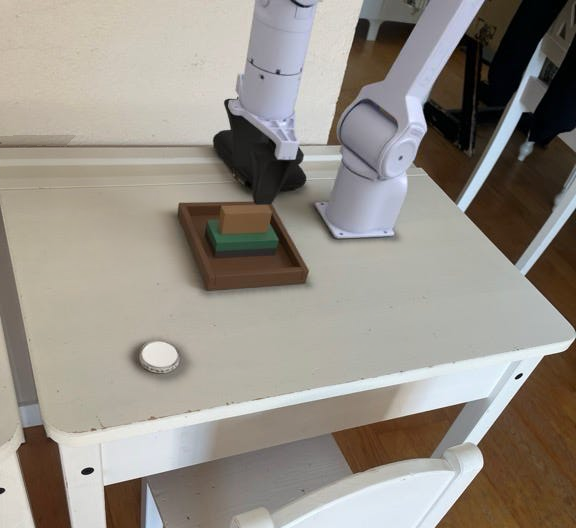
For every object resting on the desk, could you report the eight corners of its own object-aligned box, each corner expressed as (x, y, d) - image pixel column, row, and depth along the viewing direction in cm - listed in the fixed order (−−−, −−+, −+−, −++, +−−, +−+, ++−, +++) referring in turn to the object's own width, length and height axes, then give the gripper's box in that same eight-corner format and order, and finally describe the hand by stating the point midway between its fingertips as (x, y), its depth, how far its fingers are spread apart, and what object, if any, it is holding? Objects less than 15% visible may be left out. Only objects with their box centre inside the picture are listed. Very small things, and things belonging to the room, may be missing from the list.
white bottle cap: (152, 338, 65) (153, 334, 65) (186, 354, 65) (186, 350, 64) (131, 362, 62) (131, 357, 62) (166, 378, 62) (166, 374, 61)
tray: (267, 214, 85) (270, 200, 84) (305, 283, 77) (309, 270, 75) (177, 216, 80) (178, 202, 79) (207, 291, 72) (209, 276, 70)
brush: (204, 235, 78) (209, 198, 74) (263, 233, 81) (271, 197, 77) (214, 258, 75) (220, 221, 71) (275, 255, 78) (283, 219, 74)
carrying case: (200, 145, 93) (245, 201, 86) (202, 126, 91) (249, 182, 84) (261, 140, 98) (309, 192, 91) (265, 122, 96) (314, 174, 89)
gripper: (216, 28, 64) (202, 149, 74) (260, 95, 56) (237, 222, 66) (279, 34, 67) (257, 150, 77) (329, 99, 59) (298, 220, 69)
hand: (252, 183), depth 72 cm, fingers open, 7 cm apart
